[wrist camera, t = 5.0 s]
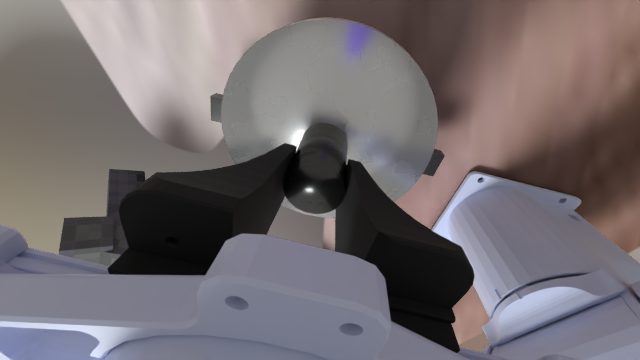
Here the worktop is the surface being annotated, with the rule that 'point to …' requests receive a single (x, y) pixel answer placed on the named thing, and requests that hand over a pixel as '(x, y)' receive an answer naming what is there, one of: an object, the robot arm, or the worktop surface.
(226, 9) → the worktop surface
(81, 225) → the handgun
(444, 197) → the worktop surface
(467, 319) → the worktop surface
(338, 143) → the lid
